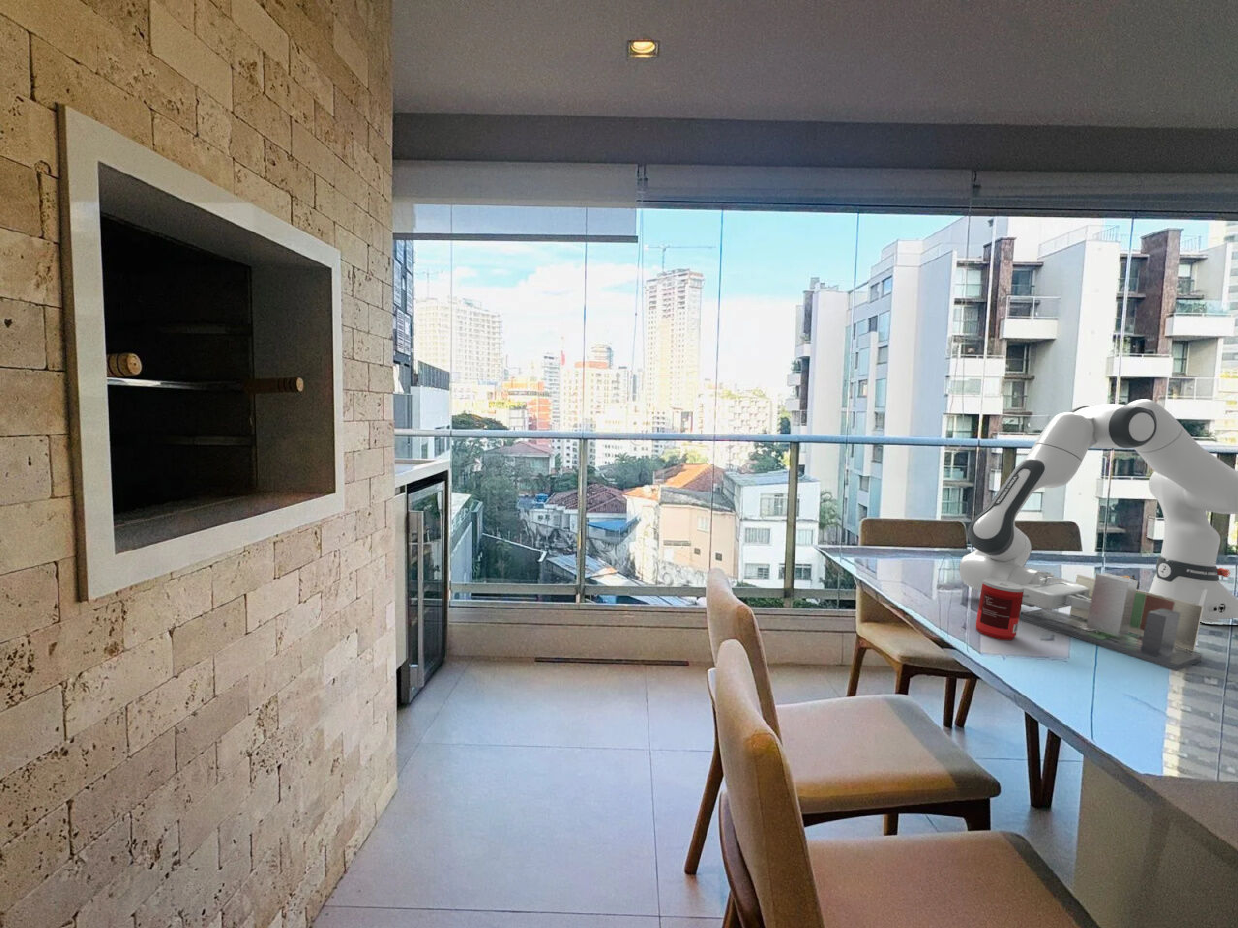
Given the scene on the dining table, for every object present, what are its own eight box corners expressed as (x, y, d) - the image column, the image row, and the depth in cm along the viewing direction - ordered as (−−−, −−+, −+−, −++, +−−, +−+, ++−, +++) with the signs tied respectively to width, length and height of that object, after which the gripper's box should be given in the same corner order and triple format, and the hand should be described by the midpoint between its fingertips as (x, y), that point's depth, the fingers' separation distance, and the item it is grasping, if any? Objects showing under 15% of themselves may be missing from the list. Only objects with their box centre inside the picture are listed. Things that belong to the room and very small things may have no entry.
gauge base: (1016, 618, 154) (1023, 576, 153) (1058, 609, 166) (1065, 571, 165) (1176, 670, 129) (1186, 621, 128) (1212, 656, 141) (1221, 610, 140)
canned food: (1004, 629, 144) (1013, 580, 143) (1023, 642, 137) (1032, 591, 135) (968, 624, 145) (976, 576, 144) (984, 637, 137) (993, 586, 136)
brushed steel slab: (1086, 627, 146) (1096, 574, 145) (1102, 623, 151) (1112, 571, 150) (1118, 636, 141) (1128, 582, 140) (1134, 632, 146) (1144, 579, 145)
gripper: (1009, 577, 153) (1076, 596, 141) (1050, 571, 164) (1115, 588, 153) (1004, 603, 153) (1071, 624, 142) (1046, 596, 165) (1110, 615, 153)
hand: (1094, 605), depth 147 cm, fingers closed
